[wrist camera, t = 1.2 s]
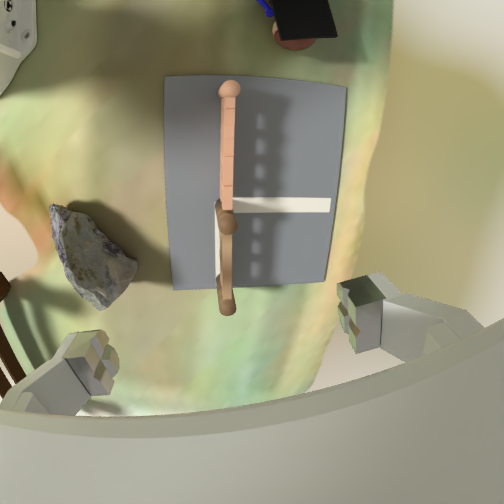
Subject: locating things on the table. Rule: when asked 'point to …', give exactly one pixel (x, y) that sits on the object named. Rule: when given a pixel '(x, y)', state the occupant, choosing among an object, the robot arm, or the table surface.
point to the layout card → (252, 178)
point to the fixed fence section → (225, 259)
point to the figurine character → (300, 22)
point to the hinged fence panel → (227, 141)
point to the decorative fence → (7, 350)
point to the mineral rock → (90, 257)
